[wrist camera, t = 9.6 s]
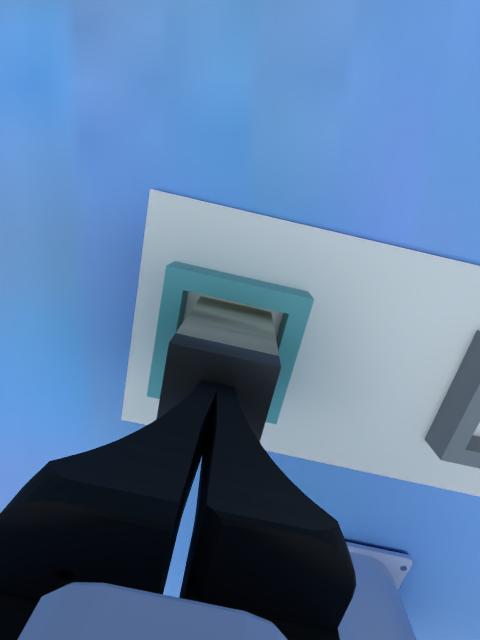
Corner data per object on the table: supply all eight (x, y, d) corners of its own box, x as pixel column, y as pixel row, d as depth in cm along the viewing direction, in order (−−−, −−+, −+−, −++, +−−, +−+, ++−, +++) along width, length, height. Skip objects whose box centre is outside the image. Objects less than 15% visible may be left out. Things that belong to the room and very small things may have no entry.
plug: (254, 374, 19) (254, 458, 12) (189, 360, 19) (153, 437, 12) (271, 311, 18) (281, 367, 11) (201, 296, 18) (168, 342, 11)
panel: (540, 499, 22) (579, 538, 19) (127, 410, 21) (109, 438, 19) (666, 309, 18) (737, 325, 15) (155, 190, 17) (137, 185, 14)
